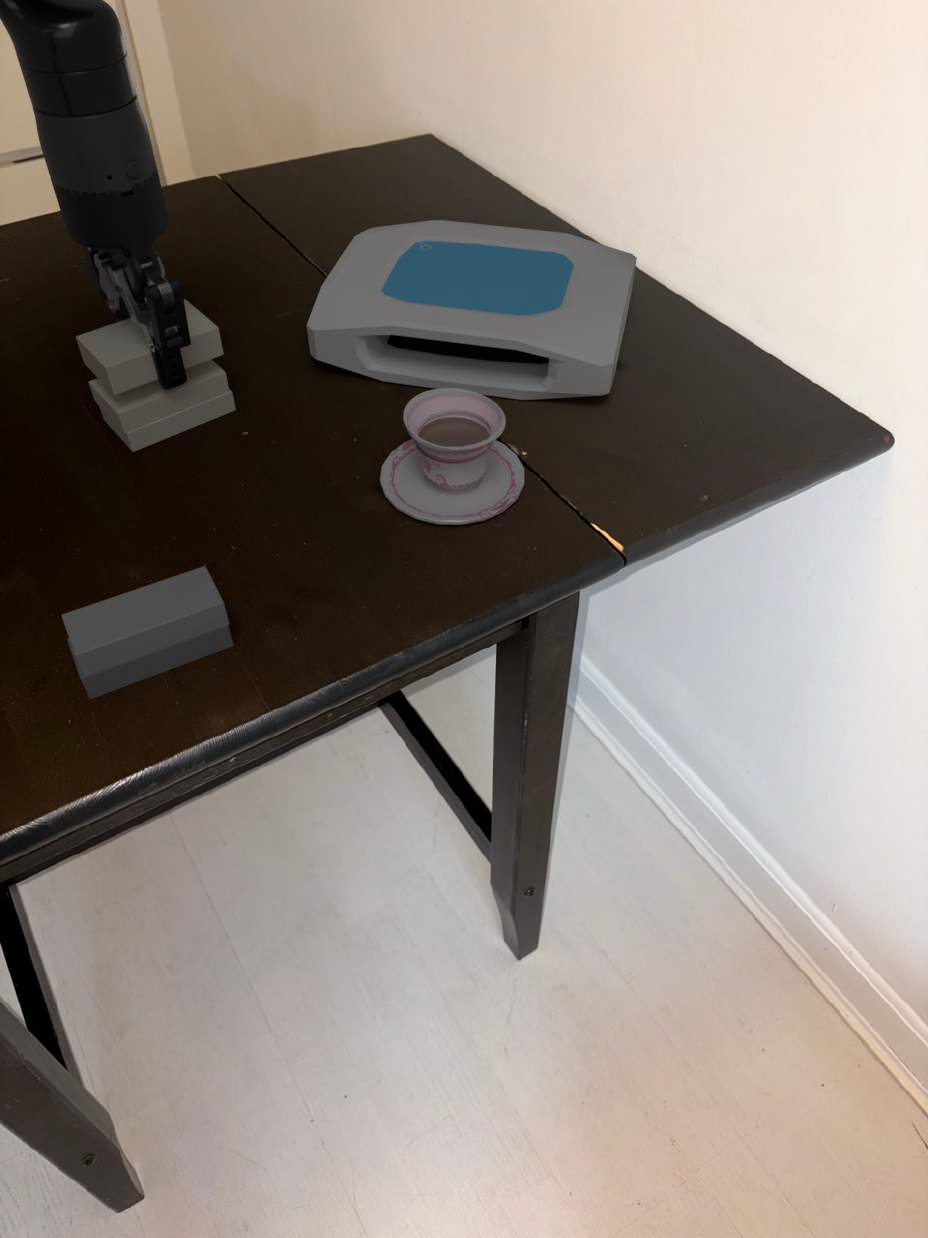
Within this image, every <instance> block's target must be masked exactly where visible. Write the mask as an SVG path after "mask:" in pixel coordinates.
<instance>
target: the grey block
mask: <svg viewBox="0 0 928 1238" xmlns="http://www.w3.org/2000/svg"><path fill="white" fill-rule="evenodd" d="M185 372H186V376H187V381H186V382H185V383H184V384H182V385H180V386H177V387H175V388H172V389H169V390H166V389H164V388H163V387H162V386H161V385H160V384H159V381H158V379H157V380H155V381H152V382H149V383H146V384H144V385H141V386H138V387H136V388H133V389H130V390H128V391H125V392H122V393H120V394H117V395H114V394H113V393H112V392H111V391H110V390H109V389H108V388H107V387H106V386H105V385H104V384H103V383H102V382H101V381H100V380H99V378H98V377H96V378H95V379H92V380H89V381H88V386H89V388H90V391H91V394H92V397H93V400H94V403H96V404H97V405H98V407H99V409H100V412H101V416H102V419H103V421H104V422H105V423H106V424H107V425H108V426H109V428H111V429H112V431H113V432H114V433H115V434H116V435H117V437H119V439H120V440H121V441H122V442H123V443H124V444H125V445H126V447H128V449H130V451H131V452H132V453H134V452H137V451H139V450H142V449H145V448H147V447H149V446H151V445H154V444H157V443H159V442H161V441H164V440H166V439H169V438H171V437H174V436H176V435H179V434H181V433H184V432H186V431H188V430H191V429H193V428H196V427H198V426H200V425H203V424H205V423H206V424H207V423H208V422H210V421H213V420H216V419H218V418H220V417H223V416H225V415H227V414H230V413H232V412H235V411H237V409H236V403H235V397H234V394H233V391H232V390H231V389H230V387H229V382H228V378H227V373H226V371H225V370H224V369H223V368H222V367H221V366H220V365H219V364H217V363H216V362H215V361H214V360H213V359H211V360H208V361H205V362H203V363H200V364H197V365H195V366H192V367H189V368H187V369H185Z"/></svg>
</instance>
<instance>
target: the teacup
mask: <svg viewBox="0 0 928 1238" xmlns="http://www.w3.org/2000/svg"><path fill="white" fill-rule="evenodd" d="M402 419H403V423H404V426H405V429H406V432H407V434H408V436H409V437H410V438H411V439H409V440H407V441H404V442H403V443H402V444H400V445H399V446H398V447H397V448H395V449H393V450H392V451H390V453H389V454H388V456H387V457H386V459H385V460H384V462H382V463H383V464H382V465H381V469H380V477H379V484H380V486H381V489H382V492H383V495H384V498H386V500H388V502H389V503H390V504H391V505H392V506H393V507H394V508H395V509H396V510H397V511H399V512H401V513H402V514H403V513H404V514H405V515H407V516H408V517H410V518H413V519H415V520H418V521H422V522H426V523H430V524H435V525H442V526H443V525H444V526H445V525H446V526H447V525H449V526H453V525H454V526H463V525H467V524H469V525H470V524H474V523H478V522H484V521H486V520H489V519H491V518H493V517H496V516H497V515H499V514H503V513H504V512H505V511H506V510H508V509H509V508H510V507H511V506H512V505H513V504H514V503H515V502H516V501H518V499H519V497H520V495H521V494H522V491H523V489H524V487H525V467H524V466H523V464H522V462H521V460H520V458H519V457H518V454H516V453H515V452H514V451H513V450H512V449H510V448H509V447H508V446H507V445H506V444H504V443H502V442H501V441H499V440H497V439H498V438H499V437H500V436H501V435H502V434H503V432H504V431H505V428H506V425H507V418H506V415H505V412H504V411H503V409H502V408H501V407H500V406H499V404H497V403H496V402H495V401H494V400H493V399H491V398H489V397H487V395H482V394H479V393H476V392H473V391H470V390H465V389H459V388H439V389H436V388H432V389H430V390H426V391H423V392H421V393H418V394H417V395H415V396H414V397H412V398H411V399H410V400H409V401H408V402H407V404H406V405H405V407H404V410H403V414H402Z"/></svg>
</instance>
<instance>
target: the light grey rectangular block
mask: <svg viewBox="0 0 928 1238" xmlns="http://www.w3.org/2000/svg"><path fill="white" fill-rule="evenodd" d="M184 304H185V310H186V316H187V322H188V328H189V334H190V340H191V345H189V346H187V347H183V348H180V351H181V356H182V360H183V364H184V368H185V369H187V368H189V367H192V366H195V365H197V364H200V363H203V362H205V361H208V360H211V359H212V360H213V359H216V358H219V357H221V356H224V355H225V353H224V348H223V344H222V339H221V333H220V328H219V326H218V325H216V324H215V323H214V322H213V321H212V320H210V319H209V317H207V315H205V314H203V313H202V312H201V311H200V310H199V309H198V308H197V307H195V306H194V305H193V304H192V303H190V301H188V300H187V299H184ZM151 326H152V324H151ZM165 331H168V329H166V330H165ZM75 339H76V341H77V345H78V348H79V351H80V355H81V357H82V361H83V363H84V365H85V366H86V367H87V369H89V370H90V371H91V372H92V373H93V374H94V376H95V377H96V378H99V380H100V381H101V382H102V383H103V384H104V385H105V386H106V387H107V388H108V389H109V390H110V391H111V392H112V393H113V394H114V395H117V394H120V393H122V392H125V391H128V390H130V389H133V388H136V387H138V386H141V385H144V384H146V383H149V382H152V381H155V380H157V379H158V377H157V373H156V369H155V365H154V362H153V358H152V354H151V351H150V348H149V346H148V342H147V340H146V337H145V335H144V332H143V330H142V328H141V326H140V325H139V324H135V323H134V322H133V321H132V320H131V318H129V319H126V320H123V321H120V322H117V321H116V322H114V323H111V324H108V325H105V326H102V327H99V328H97V329H93V330H91V331H87V332H85V333H82V334H79V335H76V336H75Z"/></svg>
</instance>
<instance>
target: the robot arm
mask: <svg viewBox="0 0 928 1238" xmlns="http://www.w3.org/2000/svg"><path fill="white" fill-rule="evenodd" d="M0 21H1V23H2V25H3V26H4V28H5V30H6V33H7V34H8V36H9V38H10V40H11V42H12V45H13V48H14V51H15V54H16V57H17V61H18V64H19V68H20V70H21V74H22V77H23V81H24V83H25V87H26V89H27V90H26V91H27V94H28V97H29V100H30V103H31V107H32V111H33V114H34V119H35V125H36V131H37V137H38V143H39V145H40V148H41V152H42V156H43V158H44V161H45V165H46V168H47V171H48V175H49V178H50V182H51V185H52V188H53V191H54V195H55V197H56V200H57V201H56V202H57V203H58V204H57V205H58V207H59V211H60V213H61V217H62V220H63V223H64V227H65V230H66V232H67V234H68V236H69V237H70V238H71V240H73V241H74V242H75V243H77V244H78V245H81V246H82V249H83V251H84V254H85V258H86V260H87V263H88V266H89V269H90V271H91V275H92V278H93V281H94V283H95V287H96V291H97V294H98V296H100V297H101V299H102V300H104V299H107V307H108V310H109V311H110V312H111V313H112V314H113V315H114V317H115V320H116V323H117V322H120V321H123V320H126V319H129V318H131V320H132V321H133V322H134V323H135V324H139V325H140V326H141V328H142V330H143V332H144V335H145V337H146V340H147V342H148V346H149V348H150V351H151V354H152V358H153V362H154V365H155V369H156V373H157V377H158V381H159V384H160V385H161V386H162V387H163V388H164V389H166V390H169V389H172V388H175V387H177V386H180V385H182V384H184V383H185V382H186V381H187V376H186V372H185V368H184V364H183V360H182V356H181V351H180V348H183V347H187V346H189V345H191V340H190V334H189V328H188V322H187V316H186V310H185V304H184V300H185V299H184V293H183V288H182V284H181V283H182V282H180V280H179V278H177V277H171V278H168V279H166V278H165V275H166V268H165V265H164V264H163V262H162V259H161V257H160V254H159V253H158V252H156V250H155V249H154V247H153V245H154V243H155V241H156V240H157V238H158V237H159V236H160V235H161V234H163V233H164V231H165V230H166V229H167V226H168V223H169V213H168V210H167V205H166V199H165V195H164V192H163V187H162V184H161V183H162V182H161V178H160V174H159V169H158V165H157V161H156V156H155V152H154V148H153V144H152V139H151V135H150V130H149V128H148V123H147V121H146V118H145V115H144V112H143V109H142V107H141V104H140V102H139V98H138V93H137V90H136V85H135V81H134V76H133V72H132V69H131V68H132V67H131V64H130V58H129V55H128V51H127V47H126V42H125V38H124V34H123V29H122V26H121V23H120V20H119V18H118V15H117V13H116V11H115V10H114V9H113V7H112V6H111V5H110V4H109V3H108V2H107V1H105V0H0ZM145 304H146V305H147V309H146V310H143V309H142V308H141V306H142V305H145ZM151 324H152V326H151ZM166 329H168V331H165V330H166Z"/></svg>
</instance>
